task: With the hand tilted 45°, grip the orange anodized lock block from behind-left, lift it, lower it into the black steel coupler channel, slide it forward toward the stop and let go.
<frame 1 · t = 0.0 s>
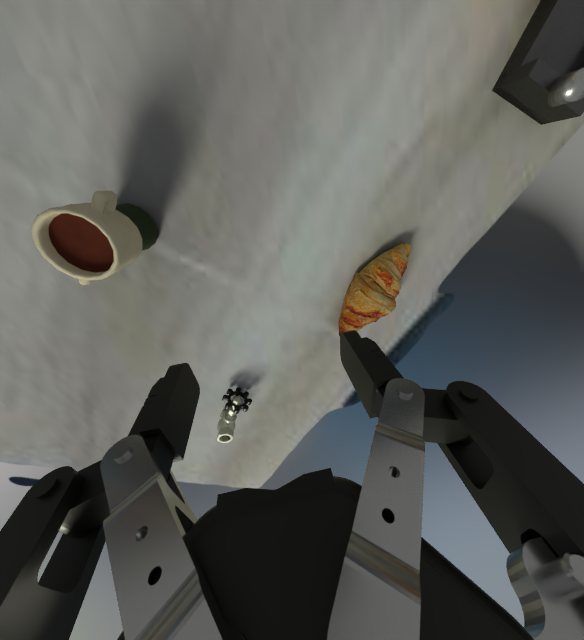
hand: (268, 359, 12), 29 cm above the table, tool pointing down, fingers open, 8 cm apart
valve: (232, 403, 55), on the table
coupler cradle: (557, 41, 29), on the table
character mug: (136, 226, 33), on the table
croissant: (367, 289, 45), on the table
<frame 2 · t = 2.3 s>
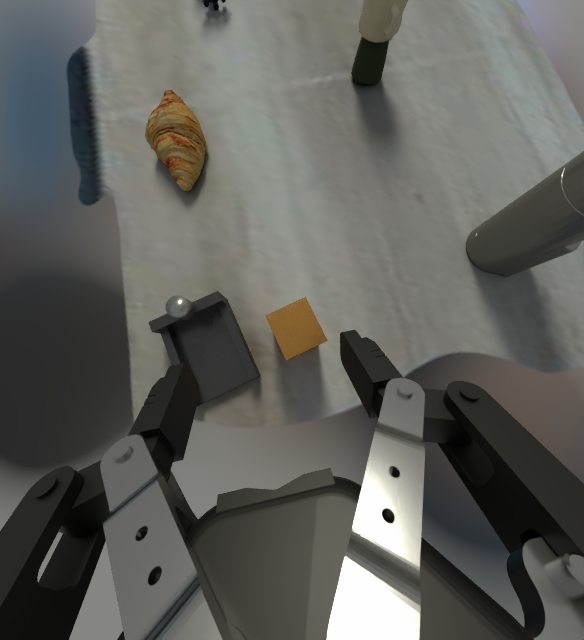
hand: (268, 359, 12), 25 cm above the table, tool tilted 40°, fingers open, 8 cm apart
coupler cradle: (212, 350, 36), on the table
lock block: (295, 336, 37), on the table
character mug: (365, 78, 46), on the table
croissant: (183, 151, 44), on the table
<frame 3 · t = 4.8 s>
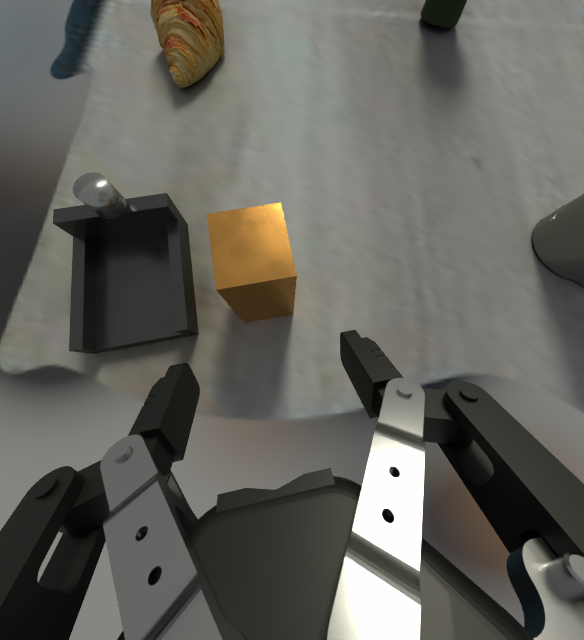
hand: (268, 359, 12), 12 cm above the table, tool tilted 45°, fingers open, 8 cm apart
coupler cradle: (144, 283, 25), on the table
lock block: (264, 293, 25), on the table
character mug: (436, 24, 37), on the table
croissant: (195, 51, 35), on the table
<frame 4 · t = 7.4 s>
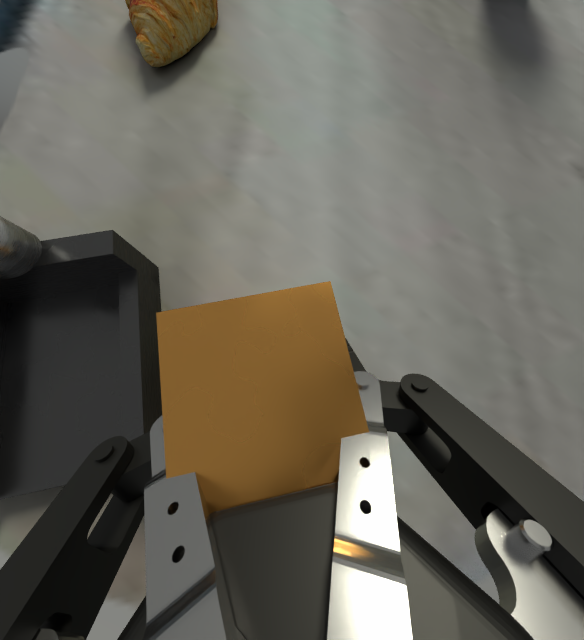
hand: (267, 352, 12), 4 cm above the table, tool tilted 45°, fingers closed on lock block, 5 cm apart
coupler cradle: (86, 367, 16), on the table
lock block: (277, 381, 16), on the table, touching gripper
croissant: (179, 20, 26), on the table
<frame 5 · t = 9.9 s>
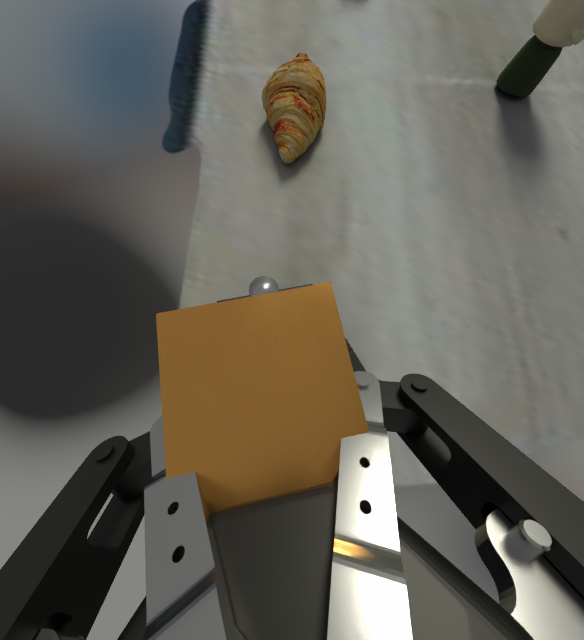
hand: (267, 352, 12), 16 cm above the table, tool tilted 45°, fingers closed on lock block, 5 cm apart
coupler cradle: (278, 356, 28), on the table
lock block: (277, 382, 16), point 12 cm above the table, touching gripper
character mug: (510, 90, 40), on the table
croissant: (293, 122, 38), on the table
when the fingers open (6 cm above the table, at t = 12.3 s): lock block stays where it is, resting on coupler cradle.
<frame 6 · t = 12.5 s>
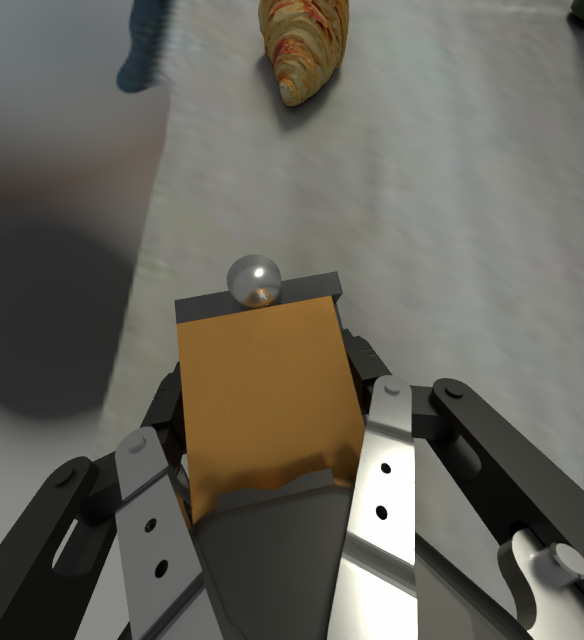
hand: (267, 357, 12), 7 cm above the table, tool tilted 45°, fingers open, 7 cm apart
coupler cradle: (279, 387, 18), on the table
lock block: (280, 383, 17), point 1 cm above the table, touching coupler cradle
croissant: (301, 58, 28), on the table
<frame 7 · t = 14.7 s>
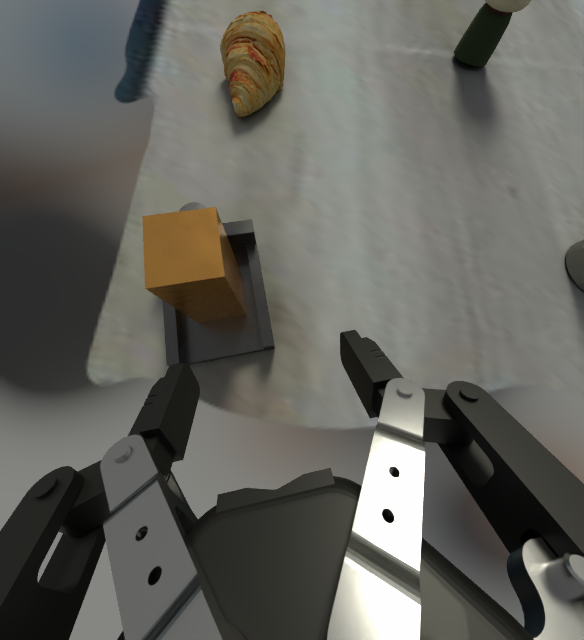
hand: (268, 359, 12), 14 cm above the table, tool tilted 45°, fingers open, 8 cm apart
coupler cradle: (220, 300, 27), on the table
lock block: (219, 294, 26), point 1 cm above the table, touching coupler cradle
character mug: (467, 62, 41), on the table
croissant: (254, 81, 37), on the table
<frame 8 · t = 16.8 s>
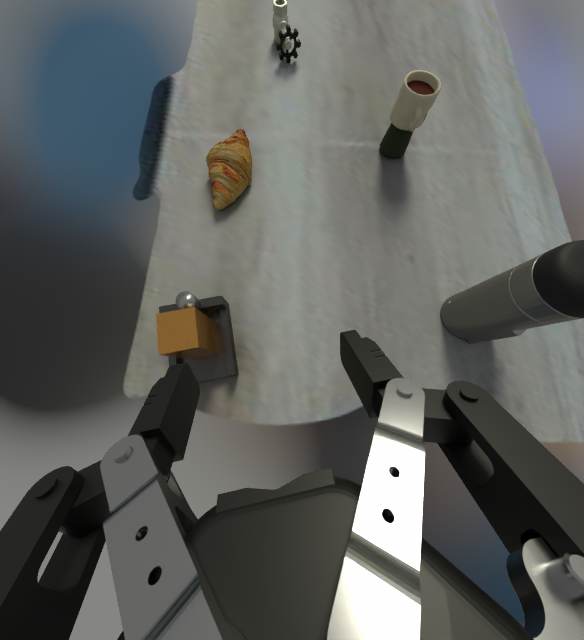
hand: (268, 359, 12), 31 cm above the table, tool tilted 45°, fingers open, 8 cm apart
valve: (283, 49, 63), on the table
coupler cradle: (204, 343, 42), on the table
lock block: (203, 340, 41), point 1 cm above the table, touching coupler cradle
character mug: (391, 151, 55), on the table
croissant: (231, 177, 52), on the table
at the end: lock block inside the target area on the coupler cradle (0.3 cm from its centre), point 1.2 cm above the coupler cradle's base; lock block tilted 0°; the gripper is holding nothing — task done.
